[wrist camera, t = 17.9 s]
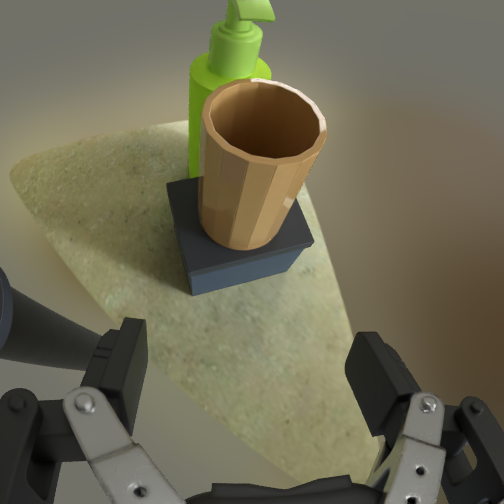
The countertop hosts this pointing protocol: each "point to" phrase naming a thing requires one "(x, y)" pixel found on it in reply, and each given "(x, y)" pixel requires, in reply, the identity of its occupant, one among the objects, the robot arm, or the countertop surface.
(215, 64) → the soap dispenser
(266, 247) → the dark grey box
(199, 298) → the countertop surface
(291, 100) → the cup
